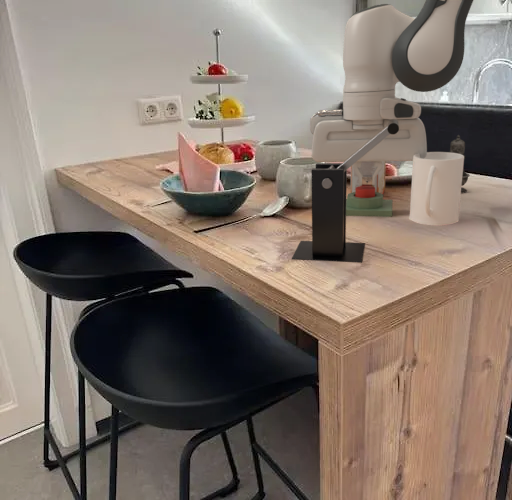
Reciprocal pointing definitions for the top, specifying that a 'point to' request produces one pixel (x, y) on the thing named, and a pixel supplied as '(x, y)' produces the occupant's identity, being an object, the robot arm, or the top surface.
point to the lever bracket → (329, 219)
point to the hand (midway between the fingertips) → (367, 185)
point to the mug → (436, 188)
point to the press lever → (370, 145)
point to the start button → (365, 192)
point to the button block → (368, 206)
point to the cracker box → (368, 169)
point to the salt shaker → (459, 148)
